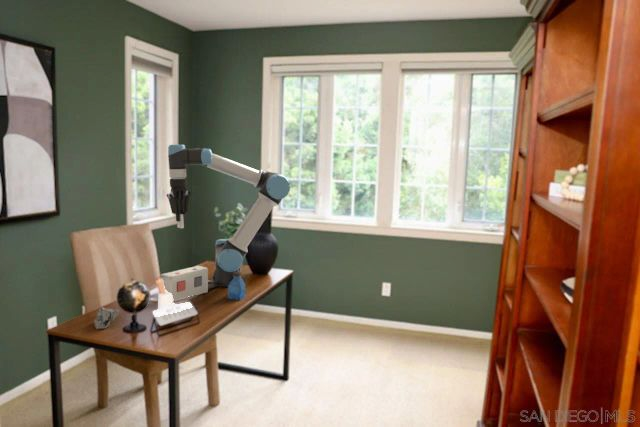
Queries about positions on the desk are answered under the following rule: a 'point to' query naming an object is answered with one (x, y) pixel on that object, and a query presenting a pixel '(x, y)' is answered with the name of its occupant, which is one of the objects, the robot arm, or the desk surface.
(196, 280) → the button
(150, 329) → the desk surface
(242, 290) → the perfume bottle
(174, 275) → the push button box
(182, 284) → the button
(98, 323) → the mineral specimen
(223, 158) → the robot arm
